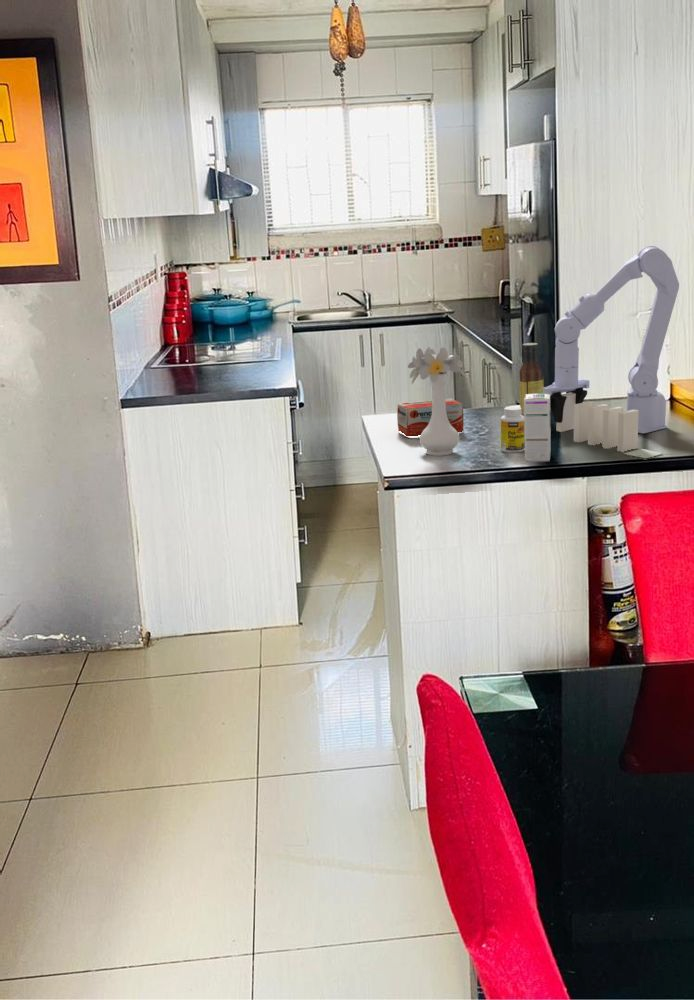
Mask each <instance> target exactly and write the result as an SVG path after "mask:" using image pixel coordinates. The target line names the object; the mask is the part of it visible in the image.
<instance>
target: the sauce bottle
mask: <svg viewBox="0 0 694 1000" xmlns="http://www.w3.org/2000/svg"><path fill="white" fill-rule="evenodd" d="M521 347H522V352H523V353H522V354H523V355H522V356H523V358H522V364H521V366H520V368H519V371H518V373H519V407H521V409H522V414H521V415H522V416H524V398H525V395H526V394H536V393H543V388H544V387H545V386H544V375H543V369H542V368H541V366H540V363H539V354H538V350H539V343H536V342H527V343H522V346H521Z"/></svg>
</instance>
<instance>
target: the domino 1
mask: <svg viewBox="0 0 694 1000" xmlns="http://www.w3.org/2000/svg"><path fill="white" fill-rule="evenodd" d="M561 394H562V396H566V397H567V398H566V401H565V404H564V409H563V420H562V422H561V423H558V422H555V423H556V426H555V427H556V432H559V433H562V432H566V431H571V430H574V404H575V401H576V393H567V394H566V393H561Z"/></svg>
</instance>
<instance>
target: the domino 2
mask: <svg viewBox="0 0 694 1000" xmlns="http://www.w3.org/2000/svg"><path fill="white" fill-rule="evenodd" d="M592 406H595V403H594V401H583V402H582V403H579V404H574V429H573V442H575V443H583V442H585V441H588V411H589V407H592Z"/></svg>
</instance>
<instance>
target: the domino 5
mask: <svg viewBox="0 0 694 1000" xmlns="http://www.w3.org/2000/svg"><path fill="white" fill-rule="evenodd" d="M638 415H639V410H629V411H627V410H623V412H620V413H618V445H617V449H616V451H617V452H619V451H621V452H620V453H624V452H623V451H626V452H628V451H627V450H630V451H632V450H631V449H634V448H637V449H638V443H639V442H638V441H639V440H638V438H639V437H638V436H639V433H638ZM634 450H635V449H634Z"/></svg>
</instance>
